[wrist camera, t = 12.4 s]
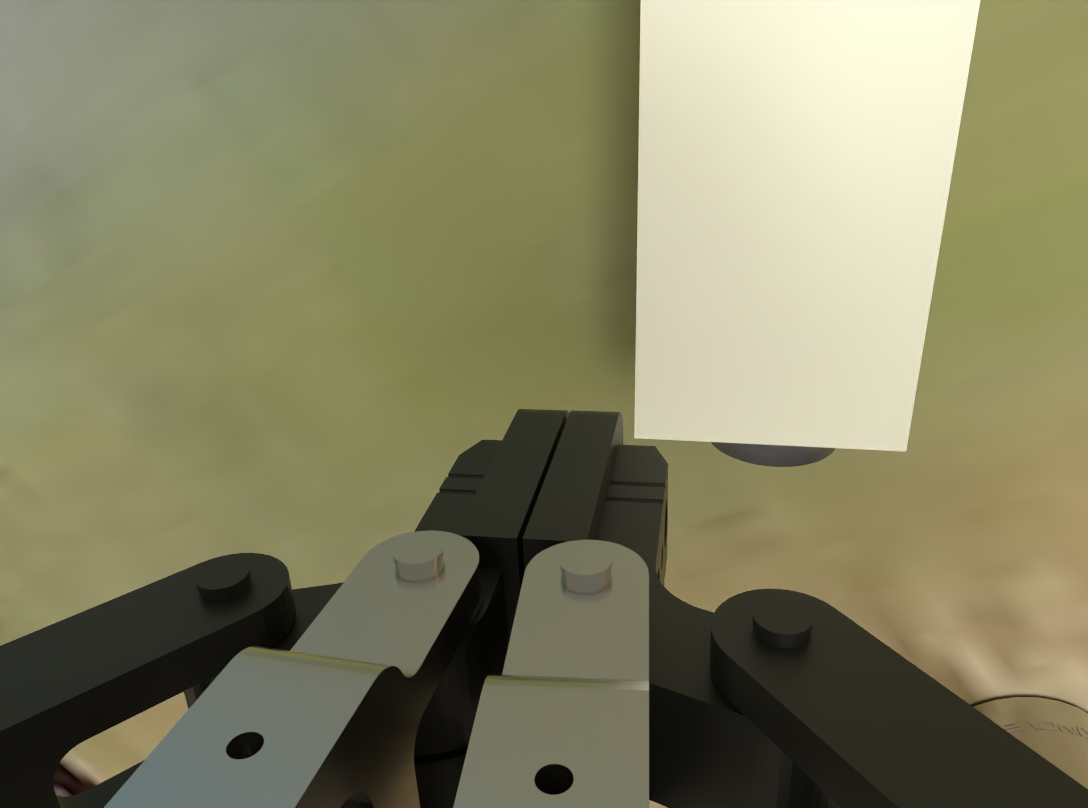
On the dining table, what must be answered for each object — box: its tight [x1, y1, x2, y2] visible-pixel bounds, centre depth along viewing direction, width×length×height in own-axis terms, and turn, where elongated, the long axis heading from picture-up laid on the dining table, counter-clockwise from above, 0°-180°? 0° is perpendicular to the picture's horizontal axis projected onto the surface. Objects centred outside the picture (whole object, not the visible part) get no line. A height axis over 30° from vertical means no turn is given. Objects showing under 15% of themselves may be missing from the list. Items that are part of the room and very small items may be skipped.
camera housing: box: [634, 0, 980, 467], centre depth 31 cm, size 22×9×9 cm, turn 2°
